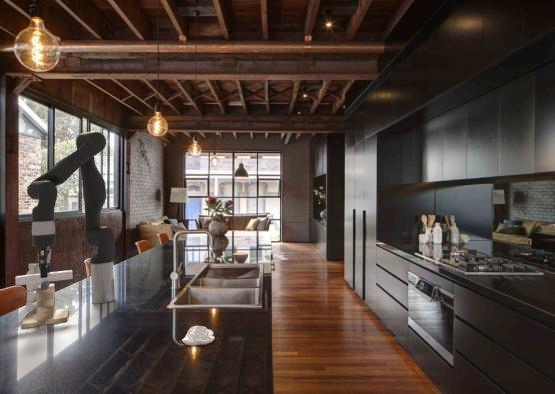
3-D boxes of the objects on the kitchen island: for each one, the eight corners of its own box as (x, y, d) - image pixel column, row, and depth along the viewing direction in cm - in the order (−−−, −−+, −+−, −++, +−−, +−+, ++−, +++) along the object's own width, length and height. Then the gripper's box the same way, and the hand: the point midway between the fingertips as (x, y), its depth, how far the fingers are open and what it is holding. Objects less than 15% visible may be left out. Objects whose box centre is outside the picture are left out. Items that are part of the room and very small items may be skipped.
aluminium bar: (72, 277, 144) (72, 270, 144) (72, 278, 141) (71, 271, 141) (17, 284, 136) (16, 276, 136) (15, 285, 133) (15, 277, 133)
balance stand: (68, 311, 148) (67, 276, 148) (67, 321, 135) (65, 282, 135) (27, 318, 141) (26, 280, 141) (21, 328, 129) (20, 287, 129)
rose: (198, 319, 118) (221, 323, 113) (199, 333, 118) (221, 338, 113) (174, 329, 109) (197, 334, 104) (175, 343, 109) (198, 349, 104)
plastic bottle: (36, 315, 145) (34, 265, 145) (21, 315, 146) (20, 265, 146) (49, 310, 151) (47, 262, 151) (35, 310, 152) (33, 262, 152)
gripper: (53, 233, 134) (55, 277, 134) (56, 231, 147) (58, 271, 147) (29, 235, 131) (30, 280, 130) (34, 233, 143) (35, 274, 143)
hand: (45, 275), depth 138 cm, fingers open, 8 cm apart
